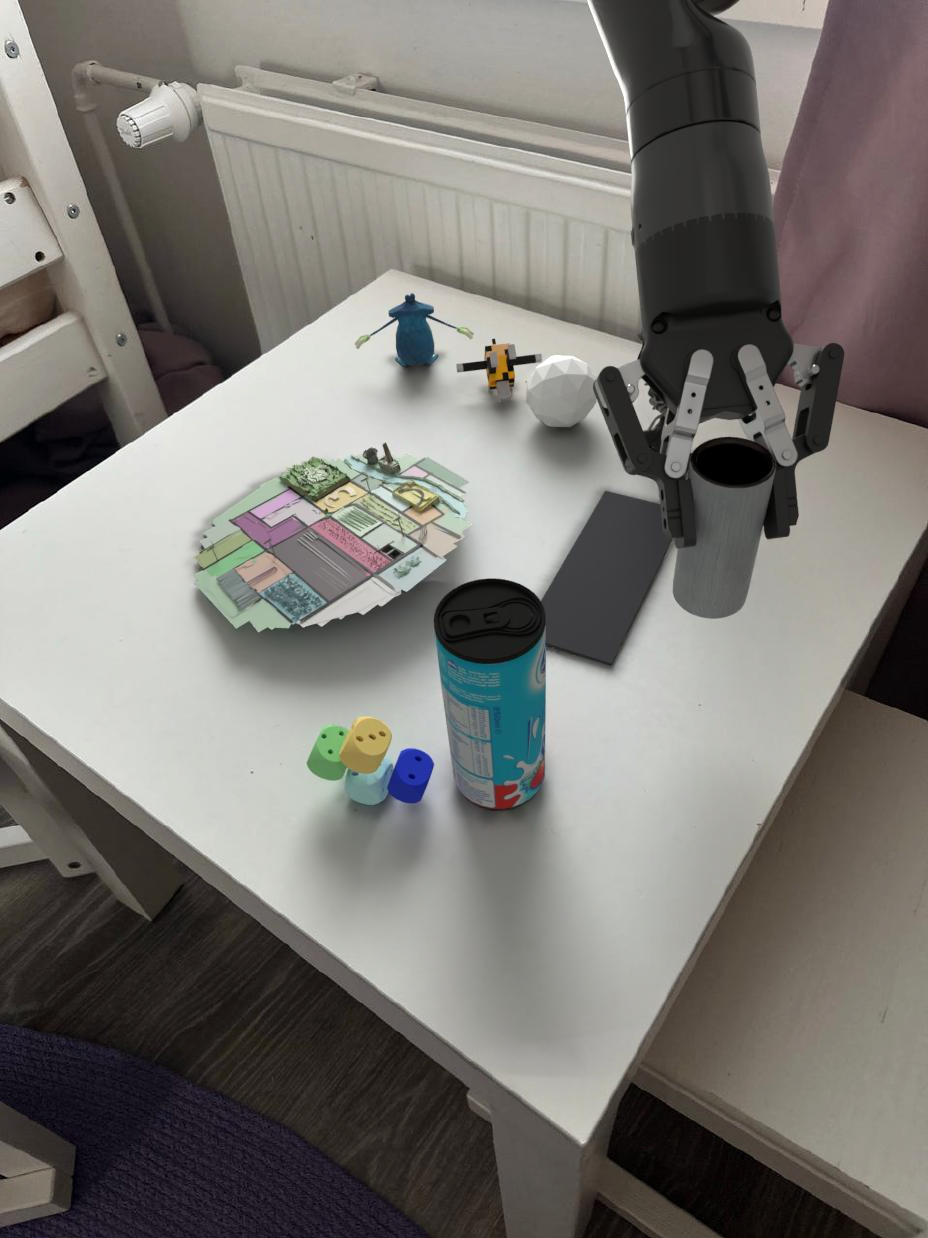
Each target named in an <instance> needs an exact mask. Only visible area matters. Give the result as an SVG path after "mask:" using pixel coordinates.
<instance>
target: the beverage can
mask: <svg viewBox="0 0 928 1238" xmlns="http://www.w3.org/2000/svg"><path fill="white" fill-rule="evenodd" d="M432 620H433V629H434V638H435V645H436V654H437V662H438V670H439V678H440V686H441V695H442V700H443V708H444V715H445V723H446V724H445V725H446V730H447V731H446V732H447V738H448V745H449V753H450V760H451V767H452V776H453V779H454V780H453V781H454V783H455V785H456V787H457V789H458V791H459V792H460V793H461V794H462V795H463V797H465V799H466V800H467V801H469V802H470V803H472V804H473V805H474V806H477V807H479V808H481V809H484V810H489V811H496V812H498V811H500V812H503V811H508V810H513V809H516V808H518V807H521V806H523V805H524V804H526V803H527V802H529V801H530V800H531V799H532V798H534V797H535V795H536V794H537V793H538V791H539V789H540V788H541V786H542V784H543V781H544V779H545V777H546V776H545V775H546V721H547V720H546V719H547V718H546V716H547V715H546V710H547V709H546V708H547V707H546V705H547V701H546V700H547V646H546V626H545V625H546V614H545V609H544V607H543V604H542V602H541V599H540V598H539V597H538V595H537V594H536V593H535V592H533V590H531V589H530V588H529V587H526V586H525V585H523V584H522V583H519V582H516V581H513V580H510V579H504V578H494V577H493V578H490V577H489V578H480V579H474V580H471V581H468V582H465V583H463V584H460V585H458V586H456V587H454V588H453V589H452V590H450V591H449V592H448V593H446V594H445V595H444V596H443V597H442V599H441V600H440V601H439V602H438V604H437V606H436V607H435V611H434V613H433V619H432Z"/></svg>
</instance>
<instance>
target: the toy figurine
mask: <svg viewBox="0 0 928 1238" xmlns="http://www.w3.org/2000/svg"><path fill="white" fill-rule="evenodd" d="M434 313H435V308H434V306H433V305H431V304H428V303H425V302H422V301H418V300H416V295H415V293H413V292H411V293H410V294H405V295H404V301H403V302H402V303H400V304H398V305H396V306H393V307H392V308H391V309H389V310H388V317H389V318H392V319H390V321H388V322H387V323H385V324H384V325H382V326H381V327H379V328H378V329H377V330H375V331H373V332H372V333H370V334H364V335H361V336H359V338H357V340H356V341H355V342H354V345H355V349H357V350H359V349H360V348H361V347H362V345H363V344H365V343H367V342H368V341H369V340H370V339H371V337H372V336H374V335H376V334H378V333H379V332H380V331H382V330H384V329H385V328H387V327H389V326H390V325H391V324H393V323H395V322H396V321H397V322H398V324H397V327H396V331H395V350H396V355H397V356H395V358H394V359H395V360H396V361H397V363H398V364H400V365H401V366H403V367H409V366H411V365H423V364H425V365H427V366H428V365H429V366H430V365H431V364H432V363H434V361H435V360H436V359H437V358H438V357H439V354H438V353H436V354H435V339H434V335H433V330H432V329H431V326H430V324H429V323H428V321H427V319H430V320H432V321H435V322H437V323H439V324H441V325H445V326H446V327H449V328H452V329H455V330H456V332H457V333H459V334H461V335H464V336H466V337H467V338H468V339H469V340H472V339H474V334H475V332H473V331H471V330H470V329H469V328H468V327H466V326H454V325H451V324H449V323H447V322H445V321H443V320H440V319H438V318H436V317H434V316H432V314H434Z"/></svg>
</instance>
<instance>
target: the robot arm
mask: <svg viewBox="0 0 928 1238" xmlns="http://www.w3.org/2000/svg"><path fill="white" fill-rule="evenodd" d="M738 2H740V0H587V3H588V6H589V9H590V13H591V14H592V17H593V19H594V23H595V25H596V28H597V31H598V33H599V36H600V38H601V41H602V42H603V46H604V49H605V50H606V54H607V56H608V59H609V62H610V65H611V68H612V71H613V73H614V75H615V78H616V80H617V82H618V84H619V87H620V90H621V92H622V96H623V99H624V108H625V109H624V110H625V118H626V120H625V121H626V130H627V140H628V149H629V150H628V151H629V159H630V174H631V175H630V176H631V179H630V181H631V183H630V184H631V185H630V217H631V230H630V240H631V246H632V247H633V251H634V259H635V268H636V279H637V288H638V289H637V290H638V301H639V309H640V319H641V328H642V331H643V341H642V345H641V348H640V351H639V353H638V356H637V358H636V360H633V361H630V362H629V363H626V364H623V365H621V366H618V367H616V366H615V365H614V366H613V365H607V366H605V367H603V368H602V369H601V371H600V372H599V374H598V375H597V376H596V377H595V379H596V380H595V381H594V383H593V391H594V393H595V396H596V399H597V400H596V402H597V404H598V407H599V408H600V411H601V414H602V416H603V419H604V421H605V425H606V427H607V430H608V432H609V434H610V437H611V440H612V442H613V444H614V445H613V446H614V448H615V450H616V453H617V455H618V457H619V461H620V463H621V465H622V468H623V470H624V472H625V473H626V474H628V475H630V476H640V477H643V478H648V479H650V480H652V481H654V482H655V484H656V486H657V488H658V495H659V504H660V507H661V517H662V527H663V532H664V534H665V536H666V538H667V539H672V540H673V539H674V540H673V541H674V546H675V548H676V549H677V550H678V548H687V547H694V546H696V528H695V518H694V508H693V497H692V487H691V480H690V479H687V478H686V472H687V470H686V469H687V465H688V460H689V455H690V453H691V451H692V446H693V442H694V439H695V437H696V435H697V432H698V428H699V425H700V424H703V423H705V422H708V421H710V420H713V419H719V420H726V421H735V420H738V422H739V424H740V426H741V429H742V432H743V434H744V435H745V437H746V438H747V439H748V440H751V441H754V442H756V443H758V444H760V445H762V446H764V447H765V448H766V449H767V450H768V451H769V452H770V453H771V454H772V455H773V457H774V459H775V462H776V471H775V475H774V480H773V484H772V489H771V493H770V498H769V502H768V506H767V511H766V515H765V520H764V524H763V533H764V537H765V539H766V540H774V539H782V538H788V537H789V536H790V534H791V527H792V526H797V522H798V519H799V516H800V513H799V502H798V493H797V492H798V491H797V481H796V468H797V466H798V464H799V463H800V462H801V461H802V460H804V459H806V458H809V457H810V456H812V455H814V454H816V453H820V452H823V451H824V450H825V449H827V447H828V445H829V443H830V438H831V432H832V425H833V420H834V416H835V410H836V404H837V399H838V393H839V387H840V381H841V376H842V371H843V366H844V360H845V349H844V348H843V347H842V346H841V345H840V344H839V343H836V342H831V343H827V344H826V345H825V346H822V347H821V346H815V345H808V344H804V343H797V342H794V340H793V337H792V335H791V333H790V332H789V331H788V329H787V327H786V325H785V323H784V320H783V314H782V307H783V306H782V305H783V304H782V292H781V283H780V272H779V261H778V260H779V259H778V249H777V240H776V239H777V238H776V229H775V220H774V219H775V217H774V208H773V207H774V206H773V196H772V187H771V179H770V174H769V173H770V172H769V168H768V163H767V160H766V156H765V152H764V148H763V140H762V134H761V121H760V112H759V111H760V110H759V100H758V91H757V81H756V71H755V63H754V58H753V51H752V49H751V46H750V44H749V41H748V40H747V38H746V37H745V35H744V34H743V33H742V32H741V31H740V30H739V29H738V28H736V27H735V26H733V25H731V24H729V23H727V22H725V21H724V20H722V19H719V18H717V17H716V16H717V15H720V14H722V13H724V12H726V11H727V10H729V9H731V8H732V7H733V6H735V5H736V4H737V3H738ZM787 365H788V366H790V367H791V368H792V372H793V381H794V382H795V383H794V384H796V385H797V386H799V387H800V393H799V399H798V404H797V410H796V415H795V420H794V426H793V431H792V432H793V433H792V436H791V434H790V432H789V429H788V427H787V425H786V413H785V411H784V409H783V406H782V404H781V402H780V400H779V397H778V395H777V393H776V391H775V388H774V387H775V386H776V384H777V382H778V380H779V379H780V377H781V376H782V374H783V372H784V370H785V369H786V367H787ZM640 380H643V381H644V383H647V385H648V386H647V387H649V388H651V389H652V390H653V391H654V392H655V394H656V395H657V396H658V397H659V398H660V399H661V400H662V401H663V403H664V404H665V405H666V406H667V407H668V408H667V413H666V417H665V422H664V426H663V431H662V436H661V447H660V450H659V452H655V451H652V450H651V448H650V447H651V446H649V445H648V442H647V440H646V437H645V434H644V432H643V431H644V429H643V427H642V424H641V422H640V419H639V417H638V414H637V412H636V409H635V406H634V402H635V401H636V400H637V399H638V398H639V395H640V389H639V381H640ZM699 423H700V424H699ZM698 424H699V425H698Z"/></svg>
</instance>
